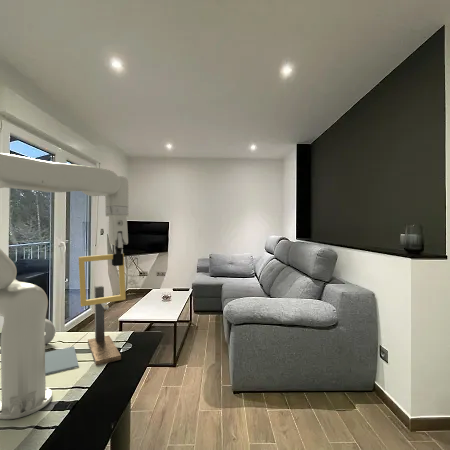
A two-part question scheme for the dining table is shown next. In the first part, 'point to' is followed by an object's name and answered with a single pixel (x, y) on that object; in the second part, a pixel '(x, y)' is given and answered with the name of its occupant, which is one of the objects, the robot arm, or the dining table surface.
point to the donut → (49, 331)
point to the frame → (83, 285)
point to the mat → (60, 360)
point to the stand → (102, 335)
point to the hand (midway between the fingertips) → (117, 264)
